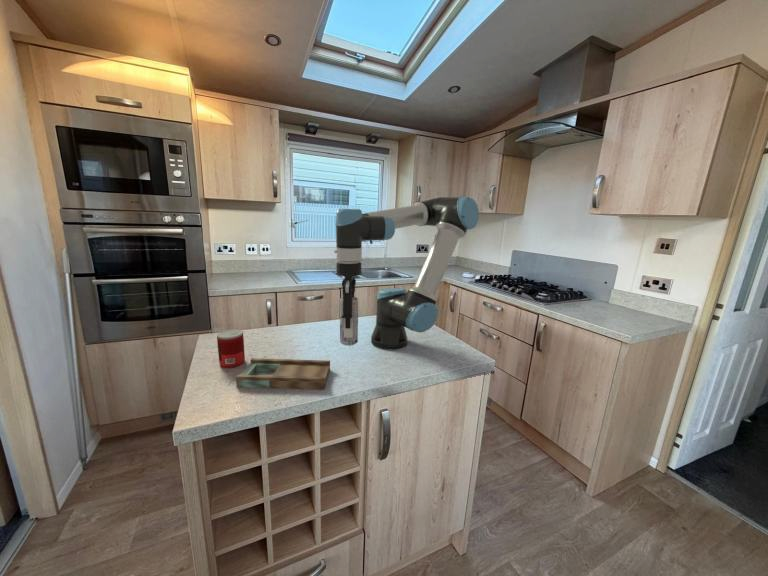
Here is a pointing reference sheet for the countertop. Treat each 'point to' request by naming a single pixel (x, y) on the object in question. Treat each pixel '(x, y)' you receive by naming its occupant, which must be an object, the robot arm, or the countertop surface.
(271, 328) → the countertop surface
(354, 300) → the beverage can
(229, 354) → the canned food
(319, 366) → the rail board
